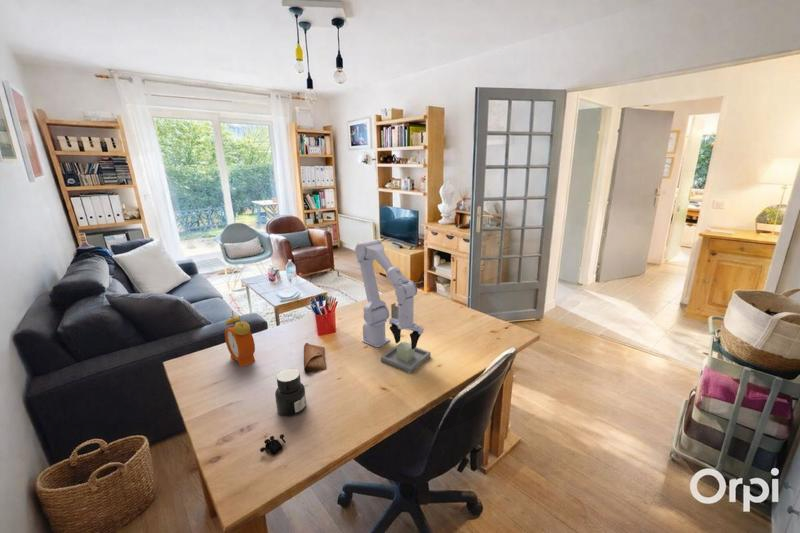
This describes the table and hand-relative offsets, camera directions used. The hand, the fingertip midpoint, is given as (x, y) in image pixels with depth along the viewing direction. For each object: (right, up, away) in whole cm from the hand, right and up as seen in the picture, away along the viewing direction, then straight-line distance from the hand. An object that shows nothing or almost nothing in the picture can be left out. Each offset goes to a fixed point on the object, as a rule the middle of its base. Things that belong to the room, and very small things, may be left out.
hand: (405, 345), depth 133 cm
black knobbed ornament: (-36, -19, -40) cm, 57 cm away
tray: (0, -6, +2) cm, 6 cm away
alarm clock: (-64, -6, +2) cm, 65 cm away
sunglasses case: (-36, -7, +2) cm, 36 cm away
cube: (0, -5, +1) cm, 5 cm away
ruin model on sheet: (-2, +4, +35) cm, 35 cm away
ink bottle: (-36, -14, -25) cm, 46 cm away
